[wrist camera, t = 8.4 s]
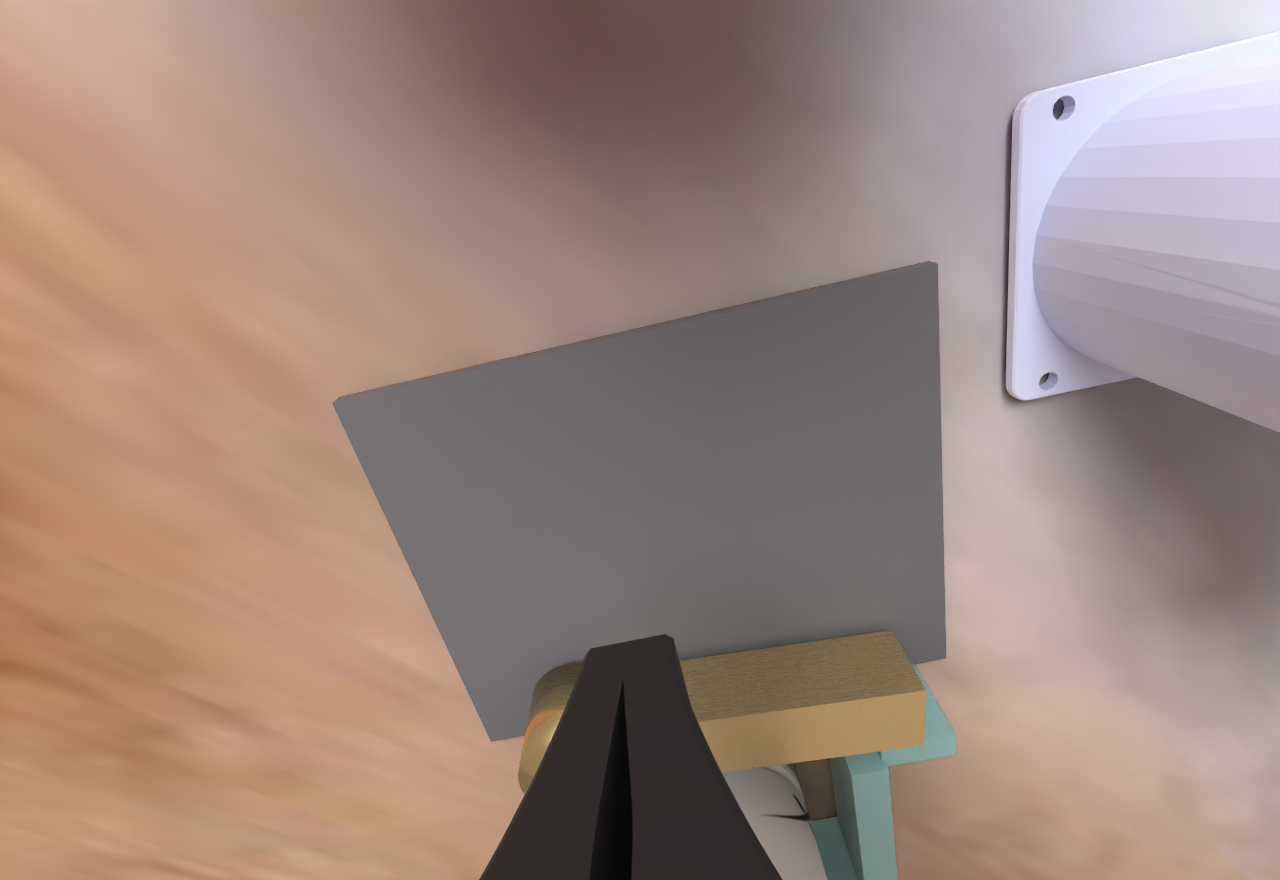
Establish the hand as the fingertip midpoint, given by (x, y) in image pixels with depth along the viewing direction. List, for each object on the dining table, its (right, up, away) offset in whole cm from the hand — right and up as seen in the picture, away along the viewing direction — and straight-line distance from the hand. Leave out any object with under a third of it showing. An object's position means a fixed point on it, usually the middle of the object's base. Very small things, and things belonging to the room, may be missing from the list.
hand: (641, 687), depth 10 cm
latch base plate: (+1, +1, +10) cm, 10 cm away
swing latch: (+2, -5, +11) cm, 13 cm away
